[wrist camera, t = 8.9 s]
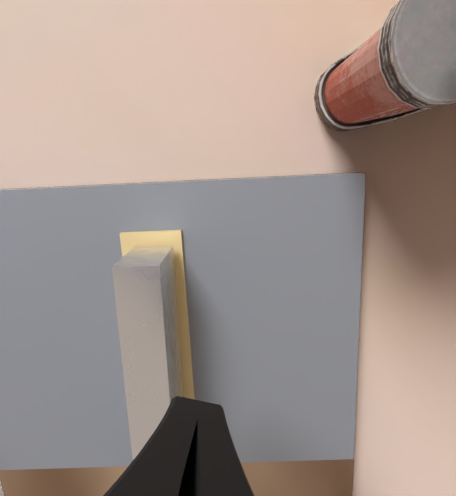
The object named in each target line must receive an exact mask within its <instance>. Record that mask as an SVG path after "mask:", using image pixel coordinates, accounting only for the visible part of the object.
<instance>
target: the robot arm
mask: <svg viewBox="0 0 456 496" xmlns="http://www.w3.org/2000/svg"><path fill="white" fill-rule="evenodd" d="M103 496H254V494H253V491H252V489H251V487H250V485H249V482H248V480H247V478H246V475H245V473H244V470H243V468H242V465H241V463H240V460H239V457H238V455H237V452H236V449H235V447H234V444H233V441H232V438H231V435H230V432H229V428H228V425H227V422H226V418H225V414H224V409H223V408H222V406H221V405H219V404H214V403H209V402H204V401H199V400H195V399H190V398H185V397H180V396H176V397H174V398H172V400H171V403H170V405H169V407H168V409H167V411H166V413H165V415H164V417H163V419H162V420H161V422H160V423H159V425H158V427H157V428H156V430H155V431H154V433H153V434H152V435H151V437H150V438H149V440H148V441H147V443H146V444H145V445H144V447H143V448H142V450H141V451H140V452H139V454H138V455H137V456H136V457H135V459H134V460H133V461H132V462H131V464H130V465H129V466H128V467H127V469H126V470H125V471H124V472H123V474H122V475H121V476H120V477H119V478H118V480H117V481H116V482H115V483H114V484H113V485H112V486H111V487H110V489H109V490H108V491H107V492H106V493H105V494H104V495H103Z"/></svg>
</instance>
